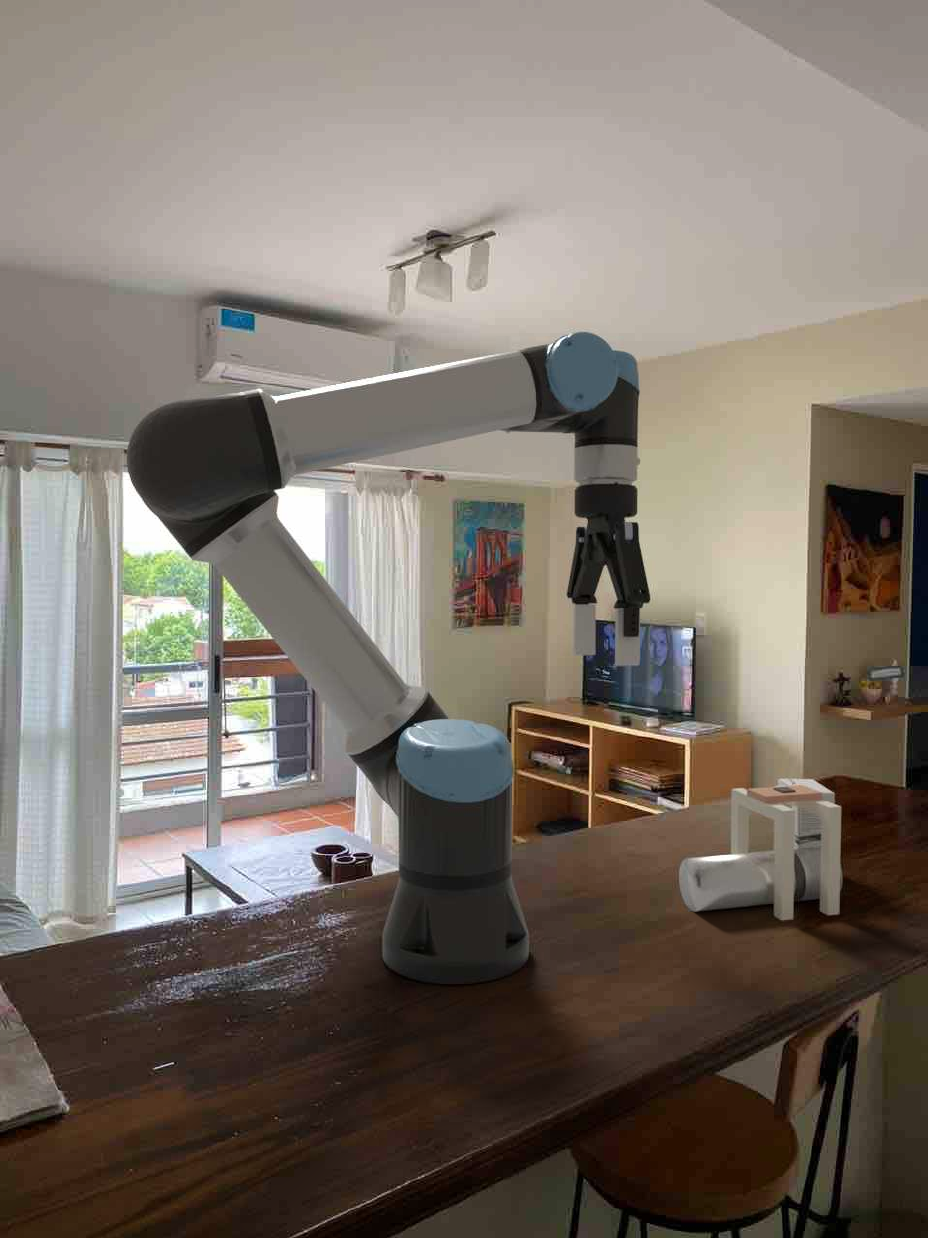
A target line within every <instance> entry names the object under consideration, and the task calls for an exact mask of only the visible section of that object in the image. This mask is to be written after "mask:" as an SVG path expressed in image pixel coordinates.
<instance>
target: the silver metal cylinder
mask: <svg viewBox="0 0 928 1238" xmlns="http://www.w3.org/2000/svg"><path fill="white" fill-rule="evenodd" d="M820 871H821V846H820V847H809V848H798V849H794V902H793V903H797V902H801V901H811V900H820ZM843 876H844V875H843V870H842V866H841V864H840V892H841V891H842V888H843V881H844V880H843V879H844V877H843ZM774 878H775V851H774V850H765V851H764V850H763V851H755V852H754V851H753V852H748V853H740V854H731V853H730V854H721V855H720V854H719V855H709V856H708V855H707V856H706V855H705V856H696V857H685V858H684V859H683V860H682V861H681V863H680V865H679V871H678V883H679V889H680V894H681V897H682V899H683V901H684V904H685V905H686V907H687V908H688V910H690V911H691V912H694V913H695V912H696V913H697V912H703V911H713V910H715V911H716V910H724V909H733V908H742V907H743V908H745V907H752V906H764V905H771V904H773V905H774Z"/></svg>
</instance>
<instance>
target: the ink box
mask: <svg viewBox="0 0 928 1238" xmlns="http://www.w3.org/2000/svg"><path fill="white" fill-rule="evenodd" d="M777 782H778V783H777V786H781V785H786V786H796V785H803V786H806V787H809V788H811V789H814V790H817V791H819V792H822V799H823V800H825V801H828V802H830V803H833V804H836V801H835V799H836V793H835V792H834V791H832V790H830V789H829V788H827V787H825V786H824V785H823V784H820V783H819V782H817V781H816V780H815V779H811V778H778V781H777ZM792 809H793V810H795V838H794V849H798V848H809V847H820V846H821V817H820V816H817V815H815V814H813V813H810V812H808V811H805V810H803V809H800V808H798V807H796V806H793V805H792Z"/></svg>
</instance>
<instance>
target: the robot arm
mask: <svg viewBox="0 0 928 1238" xmlns="http://www.w3.org/2000/svg"><path fill="white" fill-rule="evenodd" d="M639 383H640V381H639V369H638V360H637V359H636V357H634V355H632V354H631V353H629V352H626V351H623V350H618V349H617V350H616V349H615V350H614V349H613V348H612V347H611V345H610V344H609V343H608V342H607V340H605V339H604V338H602V337H600V336H599V335H597V334H595V333H593V332H589V331H577V332H572V333H570V334H565V335H562V336H560V337H558V338H557V339H556V340H555V341H553V342H551V343H547V344H542V345H537V346H531V347H526V348H523V349H518V350H511V351H506V352H500V353H495V354H489V355H486V356H479V357H474V358H469V359H464V360H459V361H453V362H449V363H444V364H438V365H433V366H428V367H424V368H423V367H422V368H417V369H412V370H407V371H403V372H398V373H392V374H386V375H381V376H375V377H373V378H365V379H360V380H357V381H350V382H346V383H342V384H341V383H340V384H336V385H330V386H326V387H320V388H315V389H311V390H305V391H300V392H294V393H290V394H284V395H278V396H273V395H271V394H270V393H268V392H266V391H265V390H263V388H256V389H251V390H247V391H241V392H235V393H234V392H233V393H226V394H221V395H212V396H211V395H210V396H204V397H198V398H191V399H184V400H183V399H181V400H177V401H174V402H170V403H166V404H163V405H161V406H159V407H158V408H157V407H156V408H155V409H153V410H152V411H150V412H149V413H148V414H147V415H145V417H143V418H142V419H141V420H140V422H139V423H138V425H136V427H135V428H134V430H133V432H132V434H131V436H130V438H129V442H128V445H127V453H126V466H127V467H126V468H127V472H128V475H129V478H130V481H131V485H132V486H133V488H134V490H135V492H136V493H137V495H138V496H139V497H140V498H141V500H142V502H143V503H144V504H145V506H146V507H147V508H148V510H149V511H151V513H152V514H153V515H155V516H156V517H157V518H158V519H159V521H160V522H161V523H162V524H163V525H164V527H165V529H166V530H168V532H169V533H170V534H171V536H172V537H173V538H174V539H175V541H176V542H177V543H178V544H179V546H181V548H182V549H183V551H184V552H185V553H186V554H187V556H189V558H190V559H191V561H195V562H201V563H202V562H203V563H209V564H212V565H214V567H215V568H216V569H217V571H218V572H219V573H220V574H221V575H222V576H223V578H224V579H225V580H226V582H227V583H228V584H229V585H230V586H231V588H232V590H234V591H235V593H236V594H237V596H239V598H240V599H241V600H242V601H243V603H244V604H245V605H246V607H247V608H248V609H249V610H250V611H251V613H252V614H253V615H254V617H255V619H257V620H258V622H260V624H261V625H262V626H263V628H264V629H265V631H266V632H267V633H268V634H269V635H270V637H271V638H272V639H273V641H274V642H275V643H276V644H277V645H278V647H279V648H280V650H281V651H282V652H283V653H284V654H285V656H287V658H288V660H289V661H290V662H292V664H293V666H294V667H295V668H296V670H298V672H299V673H300V674H301V675H302V677H303V678H304V679H305V680H306V682H307V683H308V685H310V687H311V688H312V689H313V691H314V692H315V694H317V696H318V697H319V698H320V699H321V701H322V702H323V704H325V706H326V707H327V708H328V709H329V710H330V712H331V713H332V715H334V717H335V718H336V720H337V721H338V722H339V723H340V725H341V726H342V727H343V729H345V730H346V741H345V747H344V748H345V749H344V750H345V752H346V754H347V755H348V756H349V757H350V758H351V760H352V762H354V764H355V765H356V766H357V768H359V769H360V771H361V772H362V774H363V775H364V776H365V777H366V778H367V780H368V781H369V782H370V784H371V785H372V787H373V789H374V790H375V792H376V793H377V795H378V796H379V797H380V799H381V800H382V801H383V802H385V804H387V805H388V807H389V808H391V810H392V812H393V813H394V814H395V815H396V817H397V821H398V822H397V823H398V881H397V882H398V883H397V885H396V889H395V893H394V896H393V898H392V902H391V906H390V908H389V912H388V914H387V918H386V921H385V924H384V927H383V931H382V937H381V942H382V943H381V944H382V947H381V949H382V953H381V954H382V959H383V963H384V964H385V965H386V966H387V967H388V968H389V969H390V970H392V971H393V972H395V973H396V974H399V975H401V976H403V977H406V978H409V979H412V980H414V981H415V980H416V981H420V982H425V983H431V984H440V985H468V984H469V985H470V984H471V985H472V984H478V983H484V982H490V981H493V980H494V981H495V980H497V979H501V978H504V977H506V976H508V975H511V974H513V973H515V972H517V971H518V970H519V969H521V968H522V967H523V966H525V964H526V963H527V962H528V959H529V957H530V956H529V954H530V935H529V934H530V933H529V930H528V927H527V924H526V920H525V917H524V914H523V911H522V908H521V904H520V902H519V898H518V896H517V895H518V894H517V892H516V890H515V889H516V888H515V885H514V882H513V874H512V873H513V872H512V871H513V869H512V868H513V866H512V864H513V863H512V860H513V857H512V855H513V854H512V853H513V852H512V851H513V849H512V848H513V778H514V772H515V770H514V769H515V768H514V762H513V758H512V747H511V743H510V741H509V739H508V737H507V736H506V735H505V733H503V732H502V731H501V730H500V729H498V728H497V727H494V726H493V725H490V724H488V723H487V724H486V723H477V721H474V720H468V719H460V718H459V719H456V718H454V719H453V718H449V716H448V715H447V714H446V712H445V711H444V710H443V709H442V708H441V706H440V705H439V704H438V702H437V701H436V699H435V698H434V697H433V696H432V695H431V694H430V692H429V691H428V689H427V688H426V687H424V686H416V685H409V684H407V683H406V682H405V681H404V680H403V678H401V676H400V675H399V674H398V672H397V671H396V670H395V668H394V667H393V665H391V663H390V662H389V660H388V659H387V658H386V656H385V655H384V654H383V653H382V651H381V650H380V649H379V648H378V646H377V645H376V643H374V641H373V640H372V638H371V637H370V635H368V633H367V632H366V631H365V629H364V628H363V626H362V625H361V624H360V622H359V621H358V620H357V619H356V618H355V616H354V615H353V613H351V611H350V609H348V608H347V606H346V605H345V603H344V602H343V601H342V599H341V598H340V597H339V595H338V594H337V593H336V592H335V590H334V588H333V587H331V585H330V584H329V582H328V581H327V580H326V579H325V577H324V576H323V575H322V573H321V572H320V571H319V570H318V568H317V567H316V566H315V565H314V563H313V562H312V561H311V559H310V558H309V557H308V555H307V554H306V552H304V550H303V549H302V548H301V546H300V545H299V544H298V542H297V541H296V540H295V538H294V537H293V536H292V535H291V533H290V532H289V531H288V529H287V528H286V527H285V526H284V524H283V523H282V522H281V520H280V519H279V517H278V513H277V512H278V508H279V507H278V505H279V499H280V496H279V495H278V494H277V492H276V491H277V490H281V489H285V488H286V486H287V485H288V483H289V481H291V479H292V477H294V476H297V475H301V474H305V473H311V472H315V471H321V470H325V469H329V468H333V467H334V468H335V467H338V466H342V465H347V464H351V463H356V462H361V461H364V460H369V459H373V458H374V459H376V458H378V457H379V458H380V457H383V456H387V455H388V456H389V455H393V454H397V453H400V452H406V451H411V450H415V449H421V448H423V447H428V446H433V445H438V444H441V443H442V444H443V443H447V442H451V441H456V440H460V439H461V440H462V439H464V438H465V439H466V438H469V437H473V436H479V435H484V434H488V433H491V432H496V431H499V432H500V431H501V432H506V433H507V434H510V433H511V432H521V433H523V432H524V433H528V432H529V433H558V434H559V433H560V434H574V457H573V460H574V462H573V464H574V465H573V480H574V481H575V482H576V483H578V486H576V488H575V489H574V515H575V516H576V517H577V518H581V519H587V524H586V526H577V527H576V530H575V546H574V551H573V552H574V553H573V557H572V564H571V569H570V573H569V580H568V584H567V585H568V586H567V589H566V597H567V599H571V602H572V605H573V656H596V623H597V622H596V618H597V617H596V616H597V615H596V612H597V611H596V610H597V608H596V607H597V605H596V604H598V600H597V597H596V595H595V594H596V591H597V588H598V585H599V583H600V580H601V576H602V574H603V570H604V568H605V566H606V569H607V571H608V574H609V578H610V581H611V583H612V588H613V589H614V593H615V597H616V599H617V600H616V601H615V602H614V605H613V608H614V609H615V614H614V615H615V616H614V617H615V619H614V621H615V622H614V623H615V627H614V628H615V630H614V633H615V634H614V638H615V640H614V643H615V644H614V666H615V667H628V666H629V667H630V666H632V667H634V666H635V667H636V666H640V661H641V659H640V656H641V654H640V652H641V650H640V649H641V609H642V608H643V606H644V605H645V604H649V603H650V602H651V593H650V589H649V584H648V578H647V573H646V569H645V563H644V560H643V553H642V549H641V544H640V534H639V533H640V529H639V526H640V525H639V523H638V522H637V521H626V519H627V518H628V519H629V518H635V516H637V514H638V488H637V486H636V485H633V483H634V482H636V481H637V480H638V466H640V464H641V459H640V458H639V457H638V444H639V443H638V438H639V437H638V434H639V433H638V432H639V431H638V430H639V398H640V397H639V396H640V393H641V390H640V386H639V385H640V384H639Z"/></svg>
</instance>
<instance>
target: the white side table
mask: <svg viewBox="0 0 928 1238" xmlns="http://www.w3.org/2000/svg"><path fill="white" fill-rule="evenodd" d="M730 805H731V807H730V808H731V811H730V812H731V814H730V816H731V818H730V819H731V820H730V822H731V823H730V825H731V826H730V854H740V853H749V838H750V837H749V830H750V829H749V827H750V826H749V824H750V822H749V821H750V814H749V813H750V810H751V811H753V812H755V813H758V814H759V815H762V816H764V817H765V818H766V817H767V818H768V819H770V820H772V821H773V851H775V878H774V904H773V916H774V917H775V918H777V919H778V920H780V921H790V920H794V903H795V902H794V838H795V810H793V809H792V805H793V806H796V807H798V808H800V809H803V810H805V811H808V812H810V813H813V814H815V815H817V816H820V817H821V871H820V899H819V912H821V913H823V914H825V915H826V916H834V915H835V916H837V915H840V902H841V901H840V899H841V898H840V897H841V896H840V895H841V891H840V865H841V848H842V847H841V844H842V843H841V841H842V837H841V835H842V834H841V833H842V806H841V805H838V804H836V803H835V804H833V803H830V802H828V801H825V800H823V799H822V792H819V791H817V790H814V789H811V788H809V787H806V786H803V785H796V786H786V785H781V786H778V785H774V786H770V787H769V786H768V787H756V788H747V789H746V788H744V787H737V788H731V803H730Z"/></svg>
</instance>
